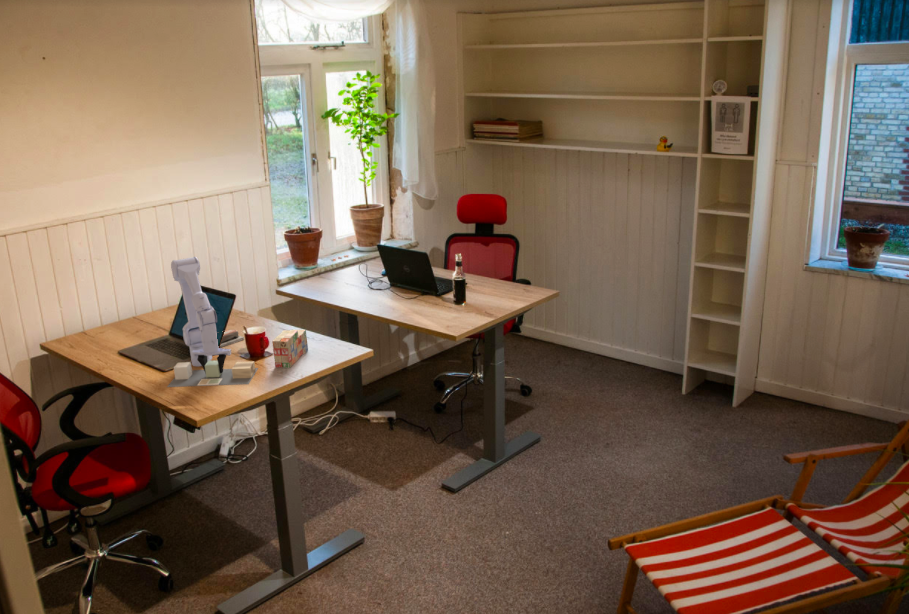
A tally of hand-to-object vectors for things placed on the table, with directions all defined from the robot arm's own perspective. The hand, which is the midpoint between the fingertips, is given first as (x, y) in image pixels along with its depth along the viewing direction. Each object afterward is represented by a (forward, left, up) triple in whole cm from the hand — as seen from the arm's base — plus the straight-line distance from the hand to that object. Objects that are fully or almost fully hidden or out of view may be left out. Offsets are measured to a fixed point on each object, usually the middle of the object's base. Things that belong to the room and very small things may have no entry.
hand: (214, 372), depth 302 cm
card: (+7, 0, -1) cm, 7 cm away
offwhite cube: (0, -12, -1) cm, 12 cm away
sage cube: (0, 0, -1) cm, 1 cm away
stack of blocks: (-16, +27, -2) cm, 32 cm away
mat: (+2, 0, -2) cm, 3 cm away
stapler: (-39, -9, -3) cm, 40 cm away
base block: (0, +12, -1) cm, 12 cm away
